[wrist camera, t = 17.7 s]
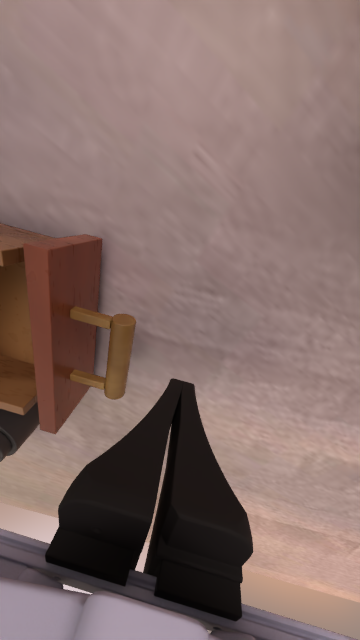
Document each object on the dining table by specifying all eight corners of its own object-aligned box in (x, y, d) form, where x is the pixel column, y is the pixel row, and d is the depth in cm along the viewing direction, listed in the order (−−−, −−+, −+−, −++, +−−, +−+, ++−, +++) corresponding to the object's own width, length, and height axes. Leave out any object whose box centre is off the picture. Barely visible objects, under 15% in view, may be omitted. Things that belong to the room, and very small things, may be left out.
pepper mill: (11, 388, 24) (-64, 451, 17) (31, 369, 22) (-43, 432, 16) (43, 413, 25) (-16, 482, 18) (65, 397, 23) (8, 467, 17)
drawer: (159, 253, 14) (131, 272, 10) (133, 395, 20) (108, 450, 15) (-74, 191, 15) (-210, 179, 10) (-34, 347, 21) (-108, 386, 16)
